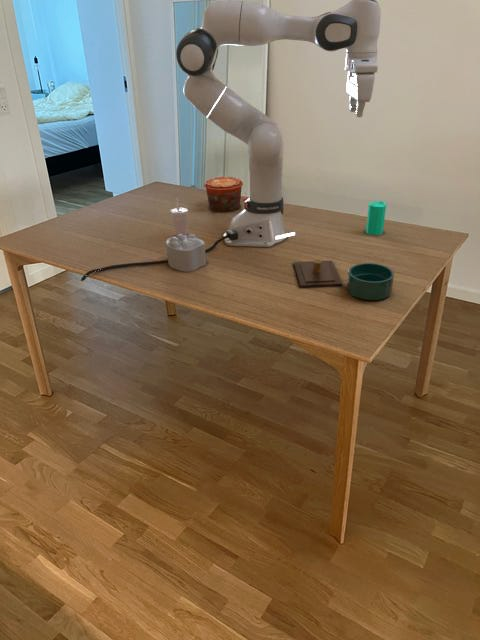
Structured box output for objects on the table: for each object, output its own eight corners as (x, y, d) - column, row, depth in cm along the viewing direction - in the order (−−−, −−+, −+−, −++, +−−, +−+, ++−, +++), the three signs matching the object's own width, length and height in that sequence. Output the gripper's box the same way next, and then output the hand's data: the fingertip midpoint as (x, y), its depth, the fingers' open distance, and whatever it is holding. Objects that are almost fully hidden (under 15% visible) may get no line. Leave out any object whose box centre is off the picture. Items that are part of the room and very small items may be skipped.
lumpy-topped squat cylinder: (186, 273, 154) (184, 247, 150) (160, 262, 162) (156, 238, 157) (210, 262, 161) (208, 237, 156) (183, 252, 168) (181, 228, 164)
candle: (381, 229, 180) (385, 196, 174) (384, 235, 175) (388, 202, 169) (364, 229, 180) (368, 196, 174) (366, 235, 175) (370, 202, 169)
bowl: (352, 302, 135) (354, 283, 132) (343, 282, 145) (344, 264, 142) (396, 300, 135) (399, 281, 132) (384, 280, 145) (386, 262, 142)
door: (300, 287, 143) (300, 274, 141) (293, 264, 157) (294, 251, 155) (341, 286, 143) (342, 272, 141) (331, 262, 157) (332, 250, 155)
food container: (213, 216, 198) (212, 189, 193) (200, 204, 211) (198, 179, 205) (249, 209, 204) (249, 183, 198) (234, 198, 216) (233, 174, 211)
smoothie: (169, 237, 180) (165, 200, 173) (178, 231, 185) (174, 194, 178) (185, 239, 178) (181, 201, 171) (193, 233, 183) (189, 196, 176)
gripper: (343, 61, 153) (339, 109, 160) (356, 66, 135) (351, 120, 142) (363, 60, 153) (359, 108, 160) (379, 66, 135) (373, 119, 142)
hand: (355, 114), depth 151 cm, fingers open, 8 cm apart
